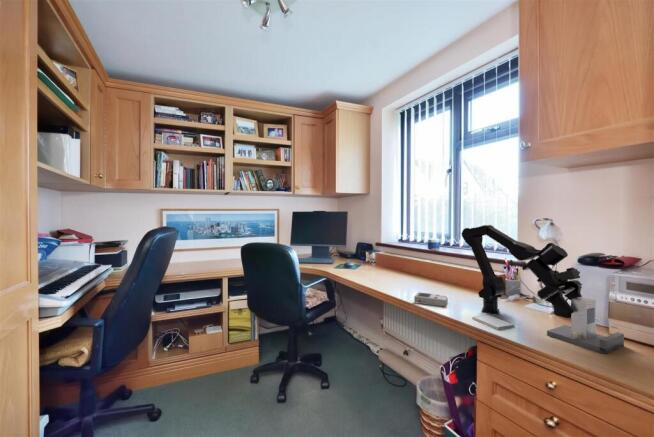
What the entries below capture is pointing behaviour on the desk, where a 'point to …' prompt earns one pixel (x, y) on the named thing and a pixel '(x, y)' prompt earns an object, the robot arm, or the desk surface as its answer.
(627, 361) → the desk surface
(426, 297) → the handheld gaming device
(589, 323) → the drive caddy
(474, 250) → the robot arm
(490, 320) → the hard drive
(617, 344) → the drive dock
